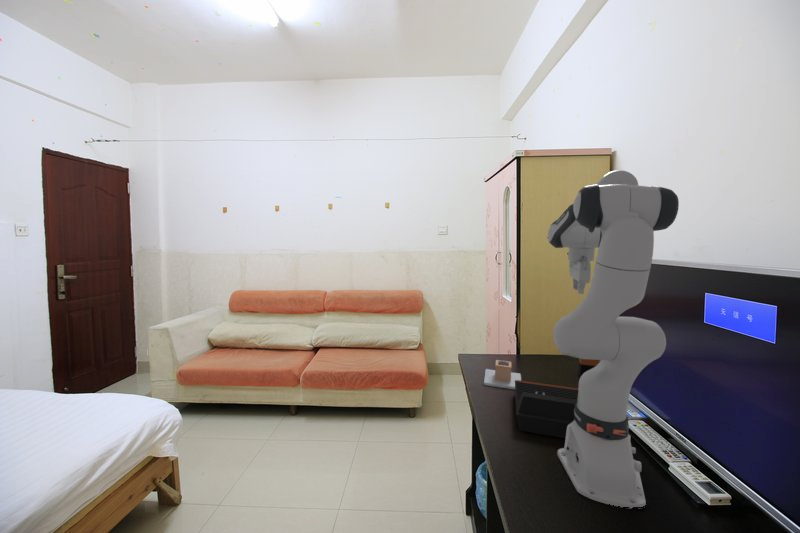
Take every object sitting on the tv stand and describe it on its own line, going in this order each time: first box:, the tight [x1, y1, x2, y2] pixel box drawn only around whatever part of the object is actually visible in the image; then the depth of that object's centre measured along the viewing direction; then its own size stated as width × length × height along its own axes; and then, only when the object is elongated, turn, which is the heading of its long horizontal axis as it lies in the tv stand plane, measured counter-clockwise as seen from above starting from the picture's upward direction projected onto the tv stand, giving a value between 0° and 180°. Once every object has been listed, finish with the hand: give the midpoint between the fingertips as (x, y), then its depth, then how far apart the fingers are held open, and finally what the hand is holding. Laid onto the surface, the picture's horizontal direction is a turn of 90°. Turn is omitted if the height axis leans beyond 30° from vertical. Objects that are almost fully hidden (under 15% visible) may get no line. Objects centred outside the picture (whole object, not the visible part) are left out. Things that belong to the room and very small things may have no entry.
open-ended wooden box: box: [494, 359, 512, 382], centre depth 140 cm, size 6×6×6 cm
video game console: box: [514, 380, 579, 439], centre depth 112 cm, size 28×25×10 cm
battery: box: [577, 358, 601, 377], centre depth 145 cm, size 4×7×10 cm, turn 75°
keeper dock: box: [483, 359, 522, 390], centre depth 140 cm, size 14×14×8 cm
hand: (578, 291), depth 134 cm, fingers open, 8 cm apart
